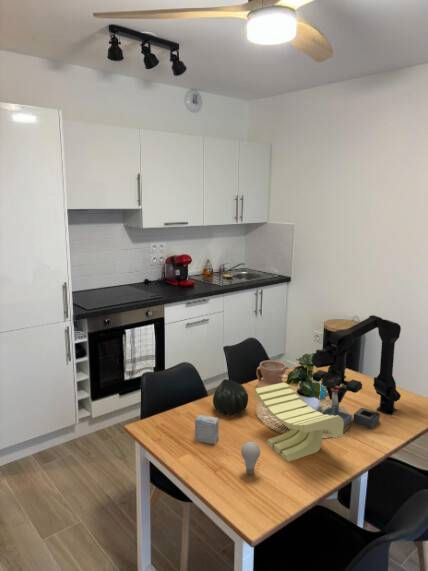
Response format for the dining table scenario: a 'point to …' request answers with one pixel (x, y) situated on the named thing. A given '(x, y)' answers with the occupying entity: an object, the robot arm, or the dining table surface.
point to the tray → (343, 415)
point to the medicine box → (206, 429)
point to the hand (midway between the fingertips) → (335, 400)
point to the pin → (335, 400)
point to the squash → (230, 398)
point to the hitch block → (366, 418)
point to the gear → (323, 389)
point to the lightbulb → (250, 455)
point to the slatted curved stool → (296, 422)
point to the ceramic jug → (271, 373)
